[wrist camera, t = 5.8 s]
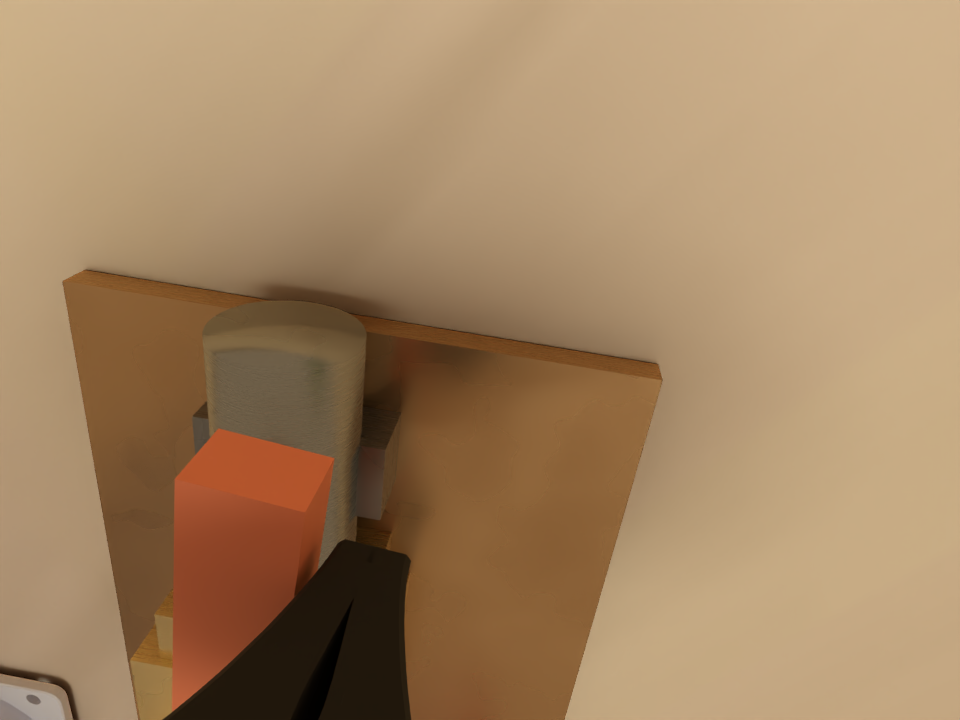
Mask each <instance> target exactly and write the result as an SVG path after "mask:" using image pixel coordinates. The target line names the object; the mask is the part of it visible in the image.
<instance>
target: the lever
mask: <svg viewBox="0 0 960 720" xmlns="http://www.w3.org/2000/svg"><path fill="white" fill-rule="evenodd" d="M334 459H335V458H332V457H328V456H324V455H320V454H316V453H313V452H309V451H305V450H301V449H297V448H293V447H289V446H285V445H281V444H278V443H274V442H270V441H266V440H262V439H258V438H254V437H250V436H246V435H242V434H239V433H235V432H231V431H227V430H223V429H219V428H218V430H217V431H216V432H215V433H214V434H213V435H212V436H211V438H210V439H209V440H208V441H207V442H206V443H205V445H204V446H203V447H202V448H201V449H200V450H199V451H198V453H197V454H196V455H195V456H194V457H193V458H192V459H191V461H190V462H189V463H188V464H187V465H186V466H185V468H184V469H183V470H182V471H181V472H180V473H179V474H178V476H177V477H176V478H175V486H174V575H173V663H172V712H173V711H174V710H175V709H176V708H178V707H179V706H180V705H181V704H183V703H184V702H185V701H186V700H187V699H189V698H190V697H191V696H192V695H193V694H195V693H196V692H197V691H198V690H199V689H201V688H202V687H203V686H204V685H205V684H206V683H207V682H209V681H210V680H211V679H212V678H213V677H214V676H215V675H217V674H218V673H219V672H220V671H221V670H222V669H223V668H224V667H226V666H227V665H228V664H229V663H230V662H231V661H232V660H233V659H234V658H235V657H236V656H237V655H238V654H239V653H240V652H241V651H242V650H243V649H244V648H246V647H247V646H248V645H249V644H250V643H251V642H252V641H253V640H254V639H255V638H256V637H257V636H258V635H259V634H260V633H261V632H262V631H263V630H264V629H265V628H266V627H267V626H268V625H269V624H270V623H271V622H272V621H273V620H274V619H275V618H276V617H277V616H278V614H279V613H280V612H281V611H282V610H283V609H284V608H285V607H286V606H287V605H288V604H289V603H290V602H291V601H292V599H293V598H294V597H295V596H296V595H297V594H298V593H299V592H300V591H301V589H302V588H303V587H304V586H305V585H306V584H307V582H308V581H309V580H310V579H311V578H312V577H313V575H314V574H315V573H316V572H317V571H318V565H319V558H320V552H321V545H322V538H323V532H324V525H325V518H326V512H327V505H328V498H329V492H330V485H331V478H332V472H333V465H334Z"/></svg>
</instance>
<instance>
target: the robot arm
mask: <svg viewBox="0 0 960 720" xmlns="http://www.w3.org/2000/svg"><path fill="white" fill-rule="evenodd" d="M410 564H411V560H410V559H409V557H408V556H407V555H406V554H403V553H399V552H395V551H391V550H387V549H383V548H379V547H375V546H371V545H367V544H363V543H359V542H355V541H351V540H347V539H345V540H342V541H340V542H338V544H337V545H336V547H335V548H334V549H333V551H332V552H331V554H330V555H329V556H328V558H327V559H326V560H325V562H324V563H323V564H322V566H321V567H320V568H319V569H318V571H317V572H316V573H315V574H314V575H313V577H312V578H311V579H310V580H309V581H308V582H307V584H306V585H305V586H304V587H303V588H302V589H301V591H300V592H299V593H298V594H297V595H296V596H295V597H294V598H293V599H292V601H291V602H290V603H289V604H288V605H287V606H286V607H285V608H284V609H283V610H282V611H281V612H280V613H279V614H278V616H277V617H276V618H275V619H274V620H273V621H272V622H271V623H270V624H269V625H268V626H267V627H266V628H265V629H264V630H263V631H262V632H261V633H260V634H259V635H258V636H257V637H256V638H255V639H254V640H253V641H252V642H251V643H250V644H249V645H248V646H247V647H246V648H244V649H243V650H242V651H241V652H240V653H239V654H238V655H237V656H236V657H235V658H234V659H233V660H232V661H231V662H230V663H229V664H228V665H227V666H226V667H224V668H223V669H222V670H221V671H220V672H219V673H218V674H217V675H215V676H214V677H213V678H212V679H211V680H210V681H209V682H207V683H206V684H205V685H204V686H203V687H202V688H201V689H199V690H198V691H197V692H196V693H195V694H193V695H192V696H191V697H190V698H189V699H187V700H186V701H185V702H184V703H183V704H181V705H180V706H179V707H178V708H176V709H175V710H174V711H173V712H171V713H170V714H169V715H168V716H166V717H165V718H164V719H162V720H411V713H410V704H409V695H408V685H407V673H406V655H405V628H404V619H405V595H406V584H407V577H408V573H409V568H410ZM0 720H73V717H72V713H71V709H70V705H69V701H68V697H67V694H66V692H65V690H63V689H62V688H61V687H59V686H58V685H55V684H51V683H46V682H41V681H35V680H30V679H25V678H20V677H15V676H10V675H5V674H0Z"/></svg>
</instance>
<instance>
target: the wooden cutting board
mask: <svg viewBox="0 0 960 720" xmlns="http://www.w3.org/2000/svg"><path fill="white" fill-rule="evenodd" d="M63 287H64V292H65V298H66V304H67V310H68V316H69V321H70V327H71V333H72V339H73V344H74V350H75V356H76V362H77V368H78V373H79V379H80V385H81V391H82V396H83V402H84V408H85V414H86V420H87V425H88V431H89V437H90V443H91V448H92V454H93V460H94V466H95V472H96V477H97V483H98V489H99V495H100V500H101V506H102V512H103V518H104V524H105V529H106V535H107V541H108V547H109V552H110V558H111V564H112V570H113V576H114V581H115V587H116V593H117V599H118V604H119V610H120V616H121V622H122V628H123V633H124V639H125V645H126V651H127V656H128V662H129V668H130V674H131V680H132V685H133V691H134V697H135V703H136V708H137V714H138V720H162V719H164V718H165V717H166V716H168V715H169V714H170V713H171V712H172V663H173V575H174V486H175V478H176V477H177V476H178V474H179V473H180V472H181V471H182V470H183V469H184V468H185V466H186V465H187V464H188V463H189V462H190V461H191V459H192V458H193V457H194V456H195V455H196V454H197V453H198V451H199V450H200V449H201V448H202V447H203V446H204V445H205V443H206V442H207V441H208V440H209V439H210V438H211V436H212V435H213V434H214V433H215V432H216V431H217V430H218V428H219V429H223V430H227V431H231V432H235V433H239V434H242V435H246V436H250V437H254V438H258V439H262V440H266V441H270V442H274V443H278V444H281V445H285V446H289V447H293V448H297V449H301V450H305V451H309V452H313V453H316V454H320V455H324V456H328V457H332V458H335V459H334V465H333V472H332V478H331V485H330V492H329V498H328V505H327V512H326V518H325V525H324V532H323V538H322V545H321V552H320V558H319V565H318V569H319V568H320V567H321V566H322V564H323V563H324V562H325V560H326V559H327V558H328V556H329V555H330V554H331V552H332V551H333V549H334V548H335V547H336V545H337V544H338V542H340V541H342V540H345V539H347V540H351V541H355V542H359V543H363V544H367V545H371V546H375V547H379V548H383V549H387V550H391V551H395V552H399V553H403V554H406V555H407V556H408V557H409V559H410V560H411V564H410V568H409V573H408V577H407V584H406V595H405V619H404V628H405V655H406V673H407V685H408V695H409V704H410V713H411V720H564V719H565V716H566V712H567V709H568V705H569V702H570V699H571V695H572V692H573V688H574V685H575V681H576V678H577V674H578V671H579V667H580V664H581V660H582V657H583V654H584V650H585V647H586V643H587V640H588V636H589V633H590V629H591V626H592V622H593V619H594V616H595V612H596V609H597V605H598V602H599V598H600V595H601V591H602V588H603V584H604V581H605V578H606V574H607V571H608V567H609V564H610V560H611V557H612V553H613V550H614V546H615V543H616V540H617V536H618V533H619V529H620V526H621V522H622V519H623V515H624V512H625V508H626V505H627V501H628V498H629V495H630V491H631V488H632V484H633V481H634V477H635V474H636V470H637V467H638V463H639V460H640V457H641V453H642V450H643V446H644V443H645V439H646V436H647V432H648V429H649V425H650V422H651V419H652V415H653V412H654V408H655V405H656V401H657V398H658V394H659V391H660V387H661V384H662V377H661V373H660V369H659V366H658V364H653V363H647V362H641V361H635V360H629V359H623V358H616V357H610V356H604V355H598V354H592V353H586V352H580V351H574V350H568V349H562V348H556V347H550V346H544V345H538V344H531V343H525V342H519V341H513V340H507V339H501V338H495V337H489V336H483V335H477V334H471V333H465V332H459V331H453V330H446V329H440V328H434V327H428V326H422V325H416V324H410V323H404V322H398V321H392V320H386V319H380V318H374V317H368V316H361V315H355V314H349V313H347V312H345V311H342V310H340V309H337V308H334V307H331V306H327V305H324V304H319V303H314V302H306V301H295V300H273V301H270V300H264V299H258V298H252V297H246V296H240V295H234V294H228V293H222V292H216V291H210V290H204V289H198V288H191V287H185V286H179V285H173V284H167V283H161V282H155V281H149V280H143V279H137V278H131V277H125V276H119V275H113V274H106V273H100V272H94V271H88V270H83V271H81V272H79V273H78V274H76V275H74V276H72V277H70V278H68V279H66V280H64V281H63Z"/></svg>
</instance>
